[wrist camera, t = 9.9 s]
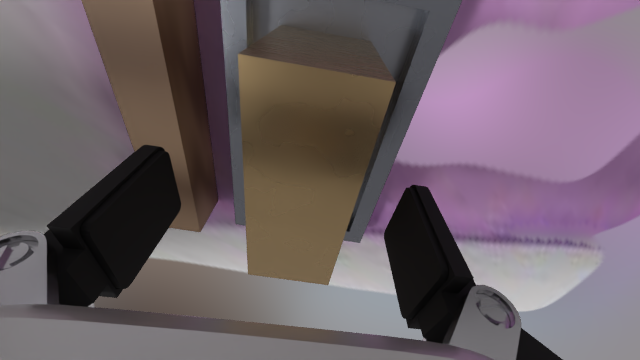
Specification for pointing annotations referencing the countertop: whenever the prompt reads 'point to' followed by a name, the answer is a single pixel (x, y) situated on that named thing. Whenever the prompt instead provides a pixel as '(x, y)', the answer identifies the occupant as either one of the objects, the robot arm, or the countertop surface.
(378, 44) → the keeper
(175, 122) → the door edge strip
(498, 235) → the countertop surface
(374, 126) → the bar
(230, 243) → the countertop surface
